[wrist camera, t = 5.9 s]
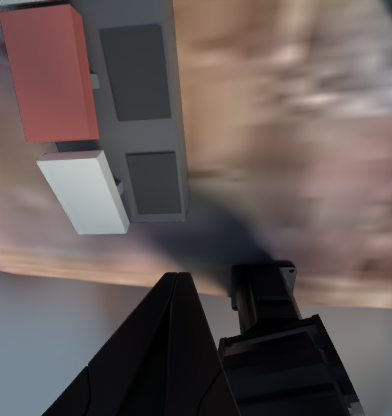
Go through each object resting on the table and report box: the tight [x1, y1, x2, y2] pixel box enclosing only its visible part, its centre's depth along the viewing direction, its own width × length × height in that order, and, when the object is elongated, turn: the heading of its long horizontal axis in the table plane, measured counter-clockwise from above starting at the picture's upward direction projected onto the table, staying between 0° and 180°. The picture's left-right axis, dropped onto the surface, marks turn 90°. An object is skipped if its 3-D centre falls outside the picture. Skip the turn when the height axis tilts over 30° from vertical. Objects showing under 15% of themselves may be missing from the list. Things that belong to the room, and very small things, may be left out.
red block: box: [0, 4, 99, 143], centre depth 12 cm, size 6×4×1 cm, turn 5°
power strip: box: [9, 0, 190, 223], centre depth 15 cm, size 19×8×5 cm, turn 4°
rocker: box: [36, 150, 130, 235], centre depth 15 cm, size 6×4×1 cm, turn 3°
